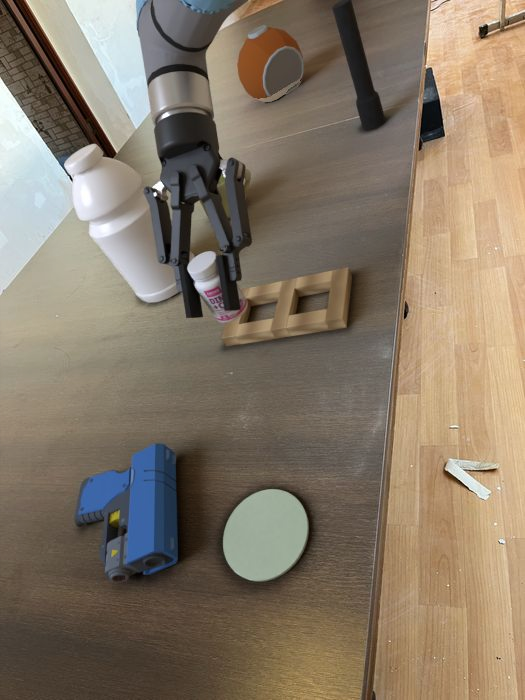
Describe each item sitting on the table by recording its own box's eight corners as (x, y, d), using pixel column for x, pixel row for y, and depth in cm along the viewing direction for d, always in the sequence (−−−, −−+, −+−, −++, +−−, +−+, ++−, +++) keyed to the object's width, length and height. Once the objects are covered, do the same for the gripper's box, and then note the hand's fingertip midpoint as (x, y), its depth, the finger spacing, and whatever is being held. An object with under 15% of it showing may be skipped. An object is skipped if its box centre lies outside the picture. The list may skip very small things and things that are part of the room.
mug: (196, 227, 105) (185, 179, 100) (209, 215, 114) (200, 170, 109) (252, 221, 102) (243, 171, 97) (261, 209, 111) (253, 162, 106)
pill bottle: (225, 329, 62) (192, 280, 57) (210, 314, 66) (178, 266, 60) (255, 306, 63) (225, 256, 57) (238, 293, 67) (209, 244, 61)
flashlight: (388, 115, 107) (366, 120, 110) (357, -8, 92) (333, 1, 95) (381, 127, 105) (359, 132, 108) (349, 3, 89) (324, 12, 92)
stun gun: (53, 596, 55) (162, 547, 52) (72, 479, 67) (162, 433, 64) (80, 606, 58) (185, 561, 55) (94, 491, 70) (181, 448, 66)
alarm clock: (290, 73, 155) (268, 13, 143) (320, 76, 141) (299, 10, 130) (241, 106, 153) (216, 48, 141) (268, 112, 139) (242, 48, 128)
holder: (352, 276, 76) (348, 266, 75) (346, 327, 69) (342, 318, 68) (241, 298, 84) (236, 290, 83) (226, 346, 77) (221, 338, 76)
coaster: (314, 489, 54) (313, 488, 54) (302, 585, 48) (300, 583, 48) (235, 491, 59) (234, 489, 58) (214, 578, 52) (213, 577, 52)
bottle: (127, 296, 102) (31, 178, 83) (172, 253, 106) (91, 132, 88) (165, 310, 92) (66, 180, 74) (212, 262, 97) (130, 128, 79)
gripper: (262, 110, 59) (291, 301, 60) (146, 154, 67) (172, 324, 67) (233, 84, 52) (266, 300, 53) (107, 137, 60) (136, 325, 60)
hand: (213, 313), depth 60 cm, fingers closed on pill bottle, 5 cm apart
